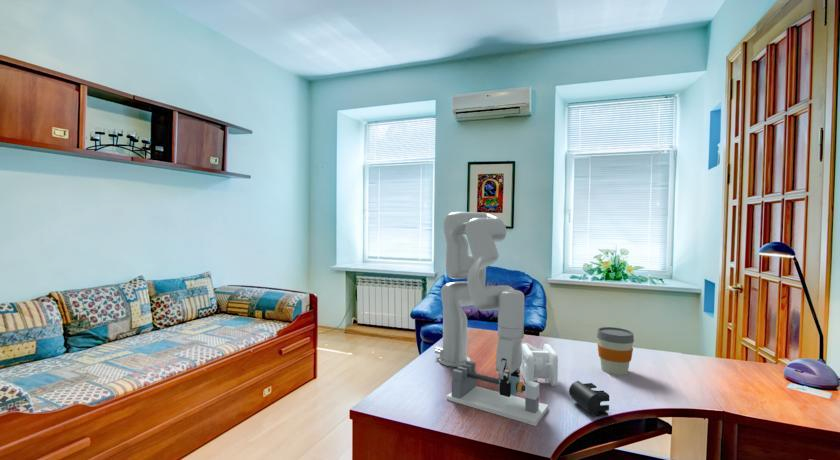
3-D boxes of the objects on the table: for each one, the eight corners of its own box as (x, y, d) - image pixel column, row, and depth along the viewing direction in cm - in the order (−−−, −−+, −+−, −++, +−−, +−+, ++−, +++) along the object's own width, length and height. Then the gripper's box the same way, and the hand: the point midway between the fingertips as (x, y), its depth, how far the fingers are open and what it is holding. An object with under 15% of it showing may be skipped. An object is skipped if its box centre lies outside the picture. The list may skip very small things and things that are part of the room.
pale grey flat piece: (567, 361, 161) (567, 358, 161) (515, 367, 155) (515, 364, 155) (534, 342, 185) (534, 340, 185) (487, 347, 179) (487, 345, 179)
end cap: (568, 402, 123) (568, 381, 122) (589, 401, 124) (589, 379, 124) (587, 418, 113) (588, 395, 113) (610, 416, 114) (610, 393, 114)
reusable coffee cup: (596, 373, 146) (597, 333, 146) (595, 362, 158) (596, 325, 158) (635, 379, 142) (636, 337, 141) (631, 367, 153) (632, 329, 153)
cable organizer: (558, 391, 131) (559, 356, 131) (526, 389, 132) (527, 355, 131) (547, 373, 146) (548, 342, 146) (518, 372, 147) (518, 341, 146)
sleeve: (498, 391, 118) (498, 378, 118) (503, 386, 121) (503, 373, 121) (514, 395, 115) (515, 382, 115) (519, 390, 119) (519, 377, 119)
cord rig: (446, 399, 123) (446, 370, 123) (464, 386, 133) (464, 359, 133) (535, 426, 108) (536, 392, 108) (548, 409, 118) (548, 378, 118)
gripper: (509, 323, 127) (508, 378, 128) (487, 336, 113) (486, 398, 113) (532, 327, 123) (531, 384, 123) (512, 341, 109) (511, 405, 109)
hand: (509, 390), depth 118 cm, fingers open, 6 cm apart
